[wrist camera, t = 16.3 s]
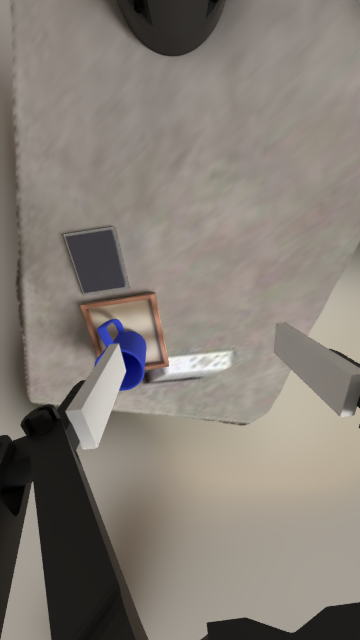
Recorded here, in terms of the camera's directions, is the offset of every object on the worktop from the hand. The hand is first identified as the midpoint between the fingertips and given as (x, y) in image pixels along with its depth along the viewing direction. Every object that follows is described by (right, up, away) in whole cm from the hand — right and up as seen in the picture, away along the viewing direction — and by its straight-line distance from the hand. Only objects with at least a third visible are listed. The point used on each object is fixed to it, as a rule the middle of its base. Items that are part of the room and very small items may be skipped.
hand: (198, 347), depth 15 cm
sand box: (-13, -1, +24) cm, 27 cm away
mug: (-13, -1, +24) cm, 27 cm away
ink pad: (-17, +13, +19) cm, 29 cm away
